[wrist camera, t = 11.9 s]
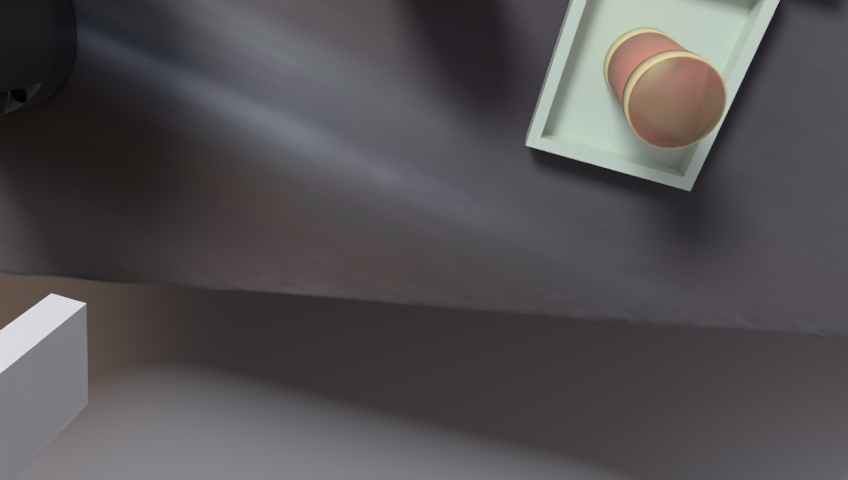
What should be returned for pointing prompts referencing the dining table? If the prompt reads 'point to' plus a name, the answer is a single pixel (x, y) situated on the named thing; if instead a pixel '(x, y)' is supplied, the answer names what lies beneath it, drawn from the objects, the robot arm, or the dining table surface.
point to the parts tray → (600, 110)
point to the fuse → (664, 89)
